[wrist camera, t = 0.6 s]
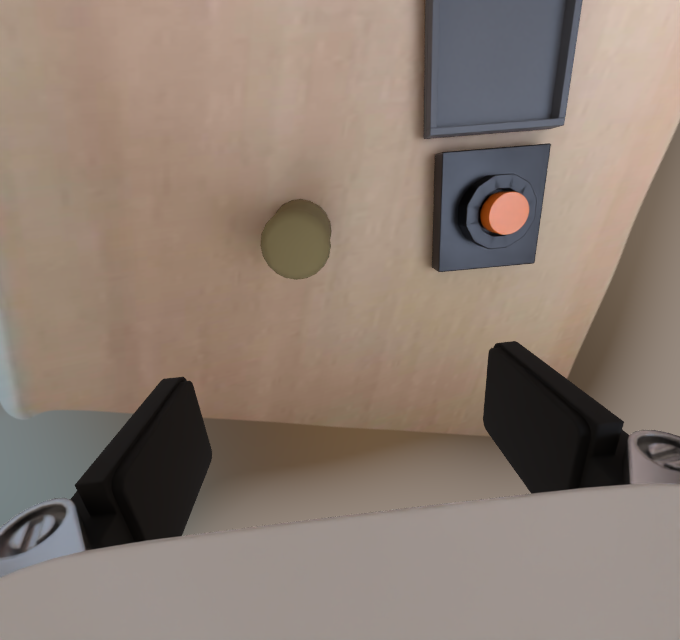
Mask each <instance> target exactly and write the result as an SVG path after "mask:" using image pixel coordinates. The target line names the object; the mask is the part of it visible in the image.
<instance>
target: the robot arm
mask: <svg viewBox="0 0 680 640" xmlns="http://www.w3.org/2000/svg"><path fill="white" fill-rule="evenodd" d="M483 422H484V426H485V429H486V430H487V432H488V433H489V435H490V436H491V437H492V439H493V440H494V442H495V443H496V445H497V446H498V447H499V449H500V450H501V451H502V453H503V454H504V456H505V457H506V459H507V460H508V461H509V463H510V464H511V466H512V467H513V468H514V470H515V471H516V473H517V474H518V475H519V477H520V478H521V479H522V481H523V482H524V484H525V485H526V487H527V488H528V490H529V491H530V492H531V494H525V495H515V496H507V497H499V498H490V499H480V500H472V501H463V502H454V503H446V504H437V505H428V506H420V507H412V508H404V509H395V510H386V511H378V512H370V513H361V514H354V515H345V516H337V517H328V518H321V519H312V520H304V521H296V522H288V523H281V524H272V525H264V526H257V527H249V528H241V529H233V530H225V531H217V532H209V533H201V534H193V535H186V536H182V534H183V531H184V529H185V526H186V524H187V521H188V519H189V516H190V513H191V511H192V508H193V506H194V503H195V501H196V498H197V496H198V493H199V491H200V488H201V486H202V483H203V481H204V478H205V475H206V473H207V470H208V468H209V465H210V462H211V459H212V451H211V446H210V443H209V439H208V436H207V432H206V429H205V425H204V422H203V418H202V415H201V411H200V408H199V404H198V401H197V397H196V394H195V390H194V387H193V384H192V382H191V381H187V380H186V379H185V378H184V377H178V378H168V379H163V380H162V381H161V382H160V383H159V384H158V385H157V386H156V388H155V389H154V390H153V391H152V393H151V394H150V395H149V396H148V397H147V399H146V400H145V401H144V402H143V403H142V405H141V406H140V407H139V408H138V409H137V411H136V412H135V413H134V414H133V415H132V417H131V418H130V419H129V420H128V421H127V423H126V424H125V425H124V426H123V428H122V429H121V430H120V431H119V432H118V434H117V435H116V436H115V437H114V438H113V440H112V441H111V442H110V444H108V446H107V447H106V448H105V450H103V452H102V453H101V454H100V455H99V457H98V458H97V459H96V460H95V461H94V463H93V464H92V465H91V466H90V467H89V469H88V470H87V471H86V472H85V473H84V475H83V476H82V477H81V478H80V480H79V481H78V482H77V483H76V484H75V487H76V489H77V492H76V493H75V494H74V496H73V497H72V498H71V499H67V498H55V499H51V500H47V501H43V502H41V503H39V504H37V505H34V506H32V507H30V508H28V509H26V510H24V511H23V512H21V513H19V514H18V515H16V516H15V517H13V518H12V519H11V520H9V521H8V522H7V523H5V524H4V525H3V526H2V527H1V528H0V640H680V437H679V436H676V435H673V434H670V433H666V432H661V431H656V430H640V431H635V432H633V433H632V434H630V435H628V434H627V433H626V432H624V431H623V430H622V427H623V423H624V422H623V421H622V420H621V419H619V418H618V417H617V416H615V415H614V414H613V413H611V412H610V411H608V410H607V409H606V408H605V407H603V406H602V405H601V404H599V403H598V402H597V401H595V400H594V399H593V398H591V397H590V396H589V395H587V394H586V393H585V392H583V391H582V390H581V389H579V388H578V387H577V386H575V385H574V384H573V383H571V382H570V381H569V380H567V379H566V378H565V377H563V376H562V375H561V374H559V373H558V372H557V371H555V370H554V369H553V368H551V367H550V366H549V365H547V364H546V363H545V362H543V361H542V360H541V359H539V358H538V357H537V356H535V355H534V354H533V353H531V352H530V351H529V350H527V349H526V348H525V347H523V346H522V345H521V344H519V343H518V342H516V341H513V342H504V343H496V344H495V346H494V348H491V349H490V350H489V355H488V367H487V379H486V391H485V403H484V415H483Z"/></svg>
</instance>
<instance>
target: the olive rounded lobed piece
mask: <svg viewBox="0 0 680 640" xmlns="http://www.w3.org/2000/svg"><path fill="white" fill-rule="evenodd" d="M330 236H331V226H330V221H329V219H328V217H327V215H326V213H325V212H324V211H323V210H322V209H321V207H320V206H318V205H317V204H315V203H313V202H311V201H307V200H302V199H299V200H292V201H290V202H288V203H286V204H284V205H282V207H281V208H280V209H279V210H278V211H277V212H276V214H275V215H274V216H273V217H272V218H271V219H270V220H269V221H268V222H267V223H266V225H265V227H264V230H263V232H262V235H261V249H262V254H263V257H264V259H265V260H266V262H267V264H268V266H269V267H270V268H271V269H273V270H274V271H275V272H276V273H277V274H279V275H281V276H283V277H285V278H289V279H296V280H297V279H304V278H308V277H310V276H312V275H314V274H316V273H317V272H318V271H319V270H320V269H321V268H322V267H324V265H325V263H326V261H327V259H328V257H329V253H330V247H331V244H330Z"/></svg>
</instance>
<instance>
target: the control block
mask: <svg viewBox="0 0 680 640" xmlns="http://www.w3.org/2000/svg"><path fill="white" fill-rule="evenodd" d="M550 146H551V144H539V145H526V146H514V147H502V148H489V149H477V150H464V151H452V152H442V153H439V154H436V155H435V171H434V212H433V252H432V268H434V269H435V270H437V271H438V272H445V271H456V270H466V269H477V268H488V267H499V266H510V265H521V264H532V263H534V262H535V254H536V247H537V240H538V233H539V225H540V218H541V211H542V204H543V197H544V189H545V182H546V175H547V168H548V160H549V153H550ZM497 192H518V193H520V194H522V195H523V196H524V197H525V198H526V199H527V201H528V204H529V215H528V218H527V220H526V222H525V224H524V225H523V226H522V227H521V228H520V229H519V230H518V231H516V232H514V233H512V234H508V235H502V234H498V233H494V232H490V231H488V230H486V229H485V228H484V226H483V225H482V223H481V219H480V212H481V208H482V206H483V204H484V202H485V201H486V200H487V199H488V198H489V197H490V196H491V195H493V194H495V193H497Z"/></svg>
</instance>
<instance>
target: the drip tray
mask: <svg viewBox="0 0 680 640" xmlns="http://www.w3.org/2000/svg"><path fill="white" fill-rule="evenodd" d="M581 7H582V0H426V1H425V77H424V139H430V138H442V137H455V136H467V135H480V134H493V133H505V132H518V131H530V130H543V129H551V128H555V127H559V126H563V125H564V121H565V115H566V108H567V101H568V95H569V88H570V81H571V74H572V68H573V61H574V54H575V47H576V41H577V34H578V27H579V20H580V14H581Z"/></svg>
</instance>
